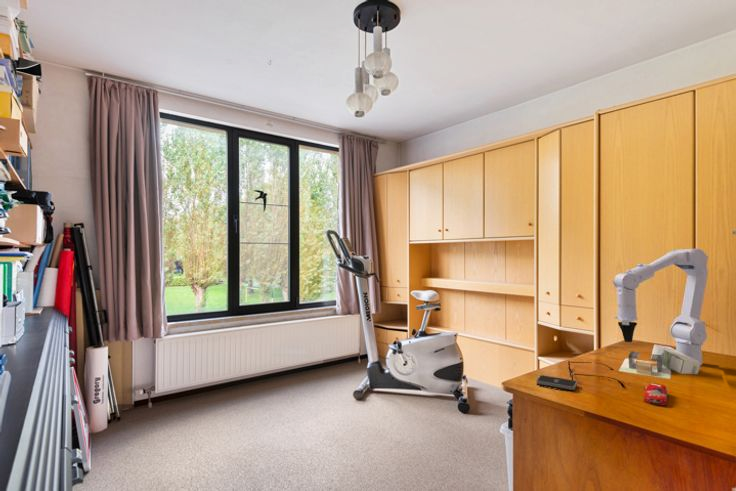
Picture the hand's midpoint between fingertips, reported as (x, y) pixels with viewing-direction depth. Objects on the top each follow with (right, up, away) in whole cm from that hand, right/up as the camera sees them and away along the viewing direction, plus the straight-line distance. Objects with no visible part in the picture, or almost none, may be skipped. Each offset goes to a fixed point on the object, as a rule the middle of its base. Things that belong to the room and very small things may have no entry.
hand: (628, 341), depth 137 cm
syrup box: (+12, -6, -14) cm, 19 cm away
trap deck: (+2, -9, -5) cm, 11 cm away
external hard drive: (-36, -10, -18) cm, 42 cm away
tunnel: (+2, -8, -6) cm, 10 cm away
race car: (-13, -9, -30) cm, 34 cm away
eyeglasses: (-20, -10, -11) cm, 25 cm away
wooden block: (-2, -8, -11) cm, 13 cm away
